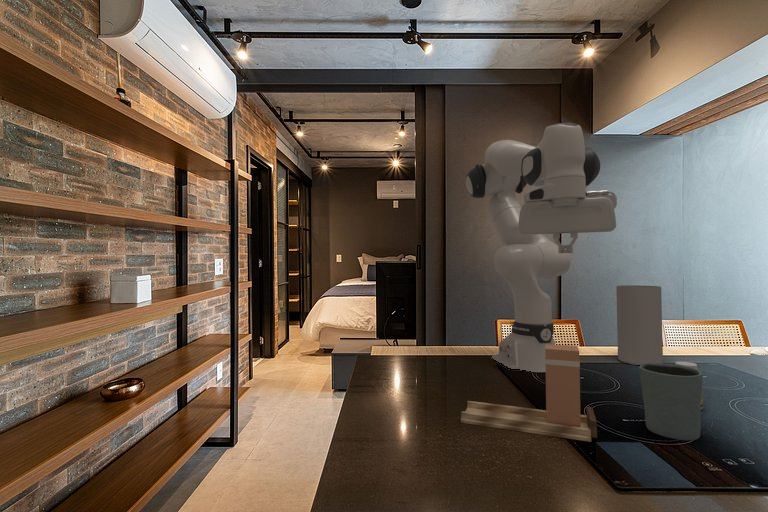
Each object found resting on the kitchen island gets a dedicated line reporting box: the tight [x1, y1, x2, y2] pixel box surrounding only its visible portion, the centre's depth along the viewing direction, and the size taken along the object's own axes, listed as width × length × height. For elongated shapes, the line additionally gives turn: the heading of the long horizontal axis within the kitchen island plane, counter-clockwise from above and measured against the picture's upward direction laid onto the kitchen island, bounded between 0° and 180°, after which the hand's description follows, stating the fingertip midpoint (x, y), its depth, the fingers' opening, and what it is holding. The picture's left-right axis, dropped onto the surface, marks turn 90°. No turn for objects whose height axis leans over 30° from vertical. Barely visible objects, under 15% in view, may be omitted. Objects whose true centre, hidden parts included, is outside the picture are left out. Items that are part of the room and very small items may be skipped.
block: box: [545, 344, 581, 427], centre depth 78 cm, size 6×5×15 cm
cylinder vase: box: [615, 284, 664, 366], centre depth 130 cm, size 12×12×25 cm
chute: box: [460, 400, 598, 443], centre depth 81 cm, size 25×9×4 cm, turn 67°
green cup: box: [638, 363, 703, 441], centre depth 77 cm, size 10×10×12 cm
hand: (565, 253), depth 90 cm, fingers closed
